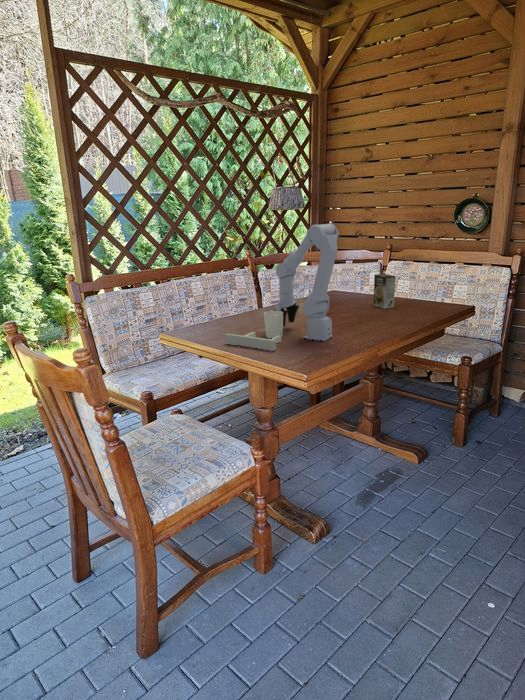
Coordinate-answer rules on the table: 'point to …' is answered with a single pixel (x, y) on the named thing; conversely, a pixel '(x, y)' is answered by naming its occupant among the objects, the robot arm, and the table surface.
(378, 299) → the coffee box
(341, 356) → the table surface
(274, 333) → the white cup
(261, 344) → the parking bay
